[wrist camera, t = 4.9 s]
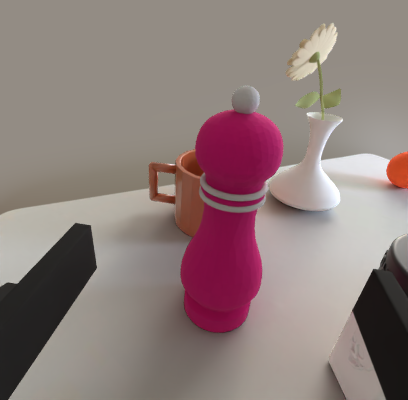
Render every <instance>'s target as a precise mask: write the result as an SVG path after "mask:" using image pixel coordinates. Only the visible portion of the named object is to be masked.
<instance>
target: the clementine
mask: <svg viewBox="0 0 408 400" xmlns="http://www.w3.org/2000/svg"><path fill="white" fill-rule="evenodd" d="M386 172H387V176H388V179H389V180H390V181H391V182H392V183H393V184H394V185H396V186H398V187H401V188H408V152H404V153H400V154H398V155H397V156H395V157H394V158H392V159H391V160H390V162H389V164H388V166H387V170H386Z"/></svg>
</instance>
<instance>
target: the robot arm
mask: <svg viewBox="0 0 408 400" xmlns="http://www.w3.org/2000/svg"><path fill="white" fill-rule="evenodd" d="M96 268H97V266H96V259H95V252H94V245H93V238H92V231H91V225H85V224H79V223H75V224H74V225H73V226H72V227H71V228H70V229H69V230H68V231H67V232H66V233H65V235H64V236H63V237H62V238H61V239H60V240H59V241H58V242H57V243H56V244H55V245H54V246H53V247H52V248H51V249H50V250H49V251H48V252H47V253H46V254H45V255H44V257H43V258H42V259H41V260H40V261H39V262H38V263H37V264H36V265H35V266H34V267H33V268H32V269H31V270H30V271H29V272H28V273H27V274H26V275H25V276H24V277H23V278H22V280H21V281H20V282H19V283H18V284H14V283H6V284H4V285H3V286H1V287H0V400H8V399H9V398H10V396H11V395H12V393H13V392H14V390H15V389H16V387H17V386H18V384H19V383H20V381H21V380H22V378H23V377H24V375H25V374H26V372H27V371H28V369H29V368H30V366H31V365H32V363H33V362H34V361H35V359H36V358H37V356H38V355H39V353H40V352H41V350H42V349H43V347H44V346H45V344H46V343H47V341H48V340H49V338H50V337H51V335H52V334H53V332H54V331H55V329H56V328H57V326H58V325H59V323H60V322H61V320H62V319H63V317H64V316H65V314H66V313H67V312H68V310H69V309H70V307H71V306H72V304H73V303H74V301H75V300H76V298H77V297H78V295H79V294H80V292H81V291H82V289H83V288H84V286H85V285H86V283H87V282H88V280H89V279H90V277H91V276H92V274H93V273H94V271H95V270H96ZM352 311H353V314H354V317H355V319H356V322H357V325H358V327H359V330H360V333H361V335H362V338H363V340H364V343H365V346H366V348H367V351H368V354H369V356H370V359H371V362H372V364H373V367H374V370H375V372H376V375H377V378H378V380H379V383H380V386H381V388H382V391H383V393H384V396H385V399H386V400H408V298H407V296H406V295H405V293H404V291H403V290H402V288H401V286H400V285H399V283H398V282H397V280H396V278H395V277H394V275H393V273H392V272H390V271H384V270H377V269H373V271H372V273H371V275H370V277H369V279H368V281H367V283H366V285H365V286H364V288H363V290H362V292H361V294H360V296H359V298H358V300H357V302H356V304H355V306H354V308H353V310H352Z"/></svg>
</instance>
